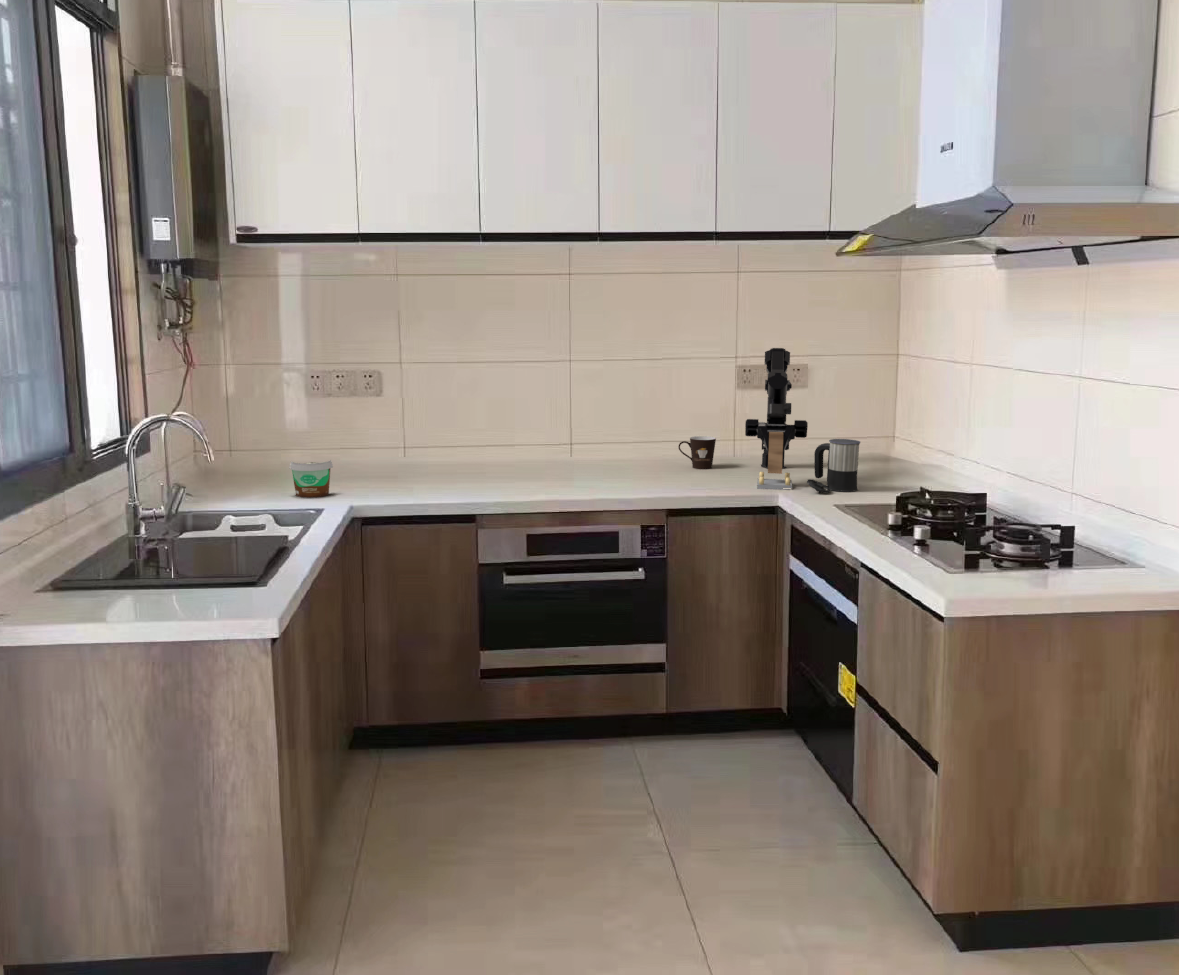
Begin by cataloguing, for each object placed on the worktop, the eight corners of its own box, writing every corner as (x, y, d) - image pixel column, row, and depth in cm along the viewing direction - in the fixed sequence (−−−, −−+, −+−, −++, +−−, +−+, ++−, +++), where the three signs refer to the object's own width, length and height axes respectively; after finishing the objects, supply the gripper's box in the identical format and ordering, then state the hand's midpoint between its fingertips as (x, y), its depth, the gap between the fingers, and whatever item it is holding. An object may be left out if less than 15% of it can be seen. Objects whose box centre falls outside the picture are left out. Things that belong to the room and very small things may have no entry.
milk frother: (860, 487, 341) (862, 439, 338) (853, 497, 326) (855, 446, 324) (812, 484, 346) (814, 436, 343) (803, 493, 331) (805, 444, 329)
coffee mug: (719, 467, 376) (720, 437, 375) (708, 470, 369) (708, 440, 367) (688, 463, 383) (689, 434, 381) (676, 467, 375) (677, 437, 374)
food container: (291, 499, 320) (289, 464, 318) (290, 495, 326) (288, 461, 324) (335, 497, 323) (334, 462, 321) (334, 493, 329) (332, 459, 327)
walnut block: (767, 470, 345) (769, 431, 343) (781, 471, 344) (783, 432, 342) (767, 473, 341) (769, 434, 338) (781, 473, 340) (783, 434, 338)
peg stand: (757, 482, 349) (757, 471, 348) (791, 483, 348) (791, 472, 347) (757, 488, 339) (757, 477, 338) (792, 489, 337) (792, 478, 337)
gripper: (746, 392, 343) (744, 433, 335) (808, 394, 341) (808, 435, 332) (746, 415, 352) (744, 455, 344) (806, 416, 350) (806, 457, 341)
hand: (775, 450), depth 340 cm, fingers closed on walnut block, 4 cm apart
